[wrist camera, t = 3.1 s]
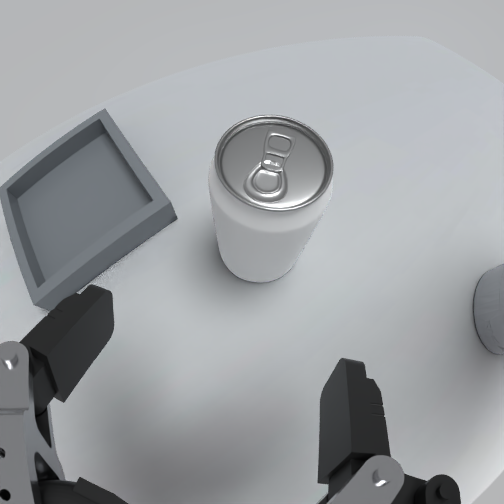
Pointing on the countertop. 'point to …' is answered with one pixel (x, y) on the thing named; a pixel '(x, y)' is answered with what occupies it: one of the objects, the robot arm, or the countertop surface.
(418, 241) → the countertop surface
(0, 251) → the countertop surface
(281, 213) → the can
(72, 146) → the tray
